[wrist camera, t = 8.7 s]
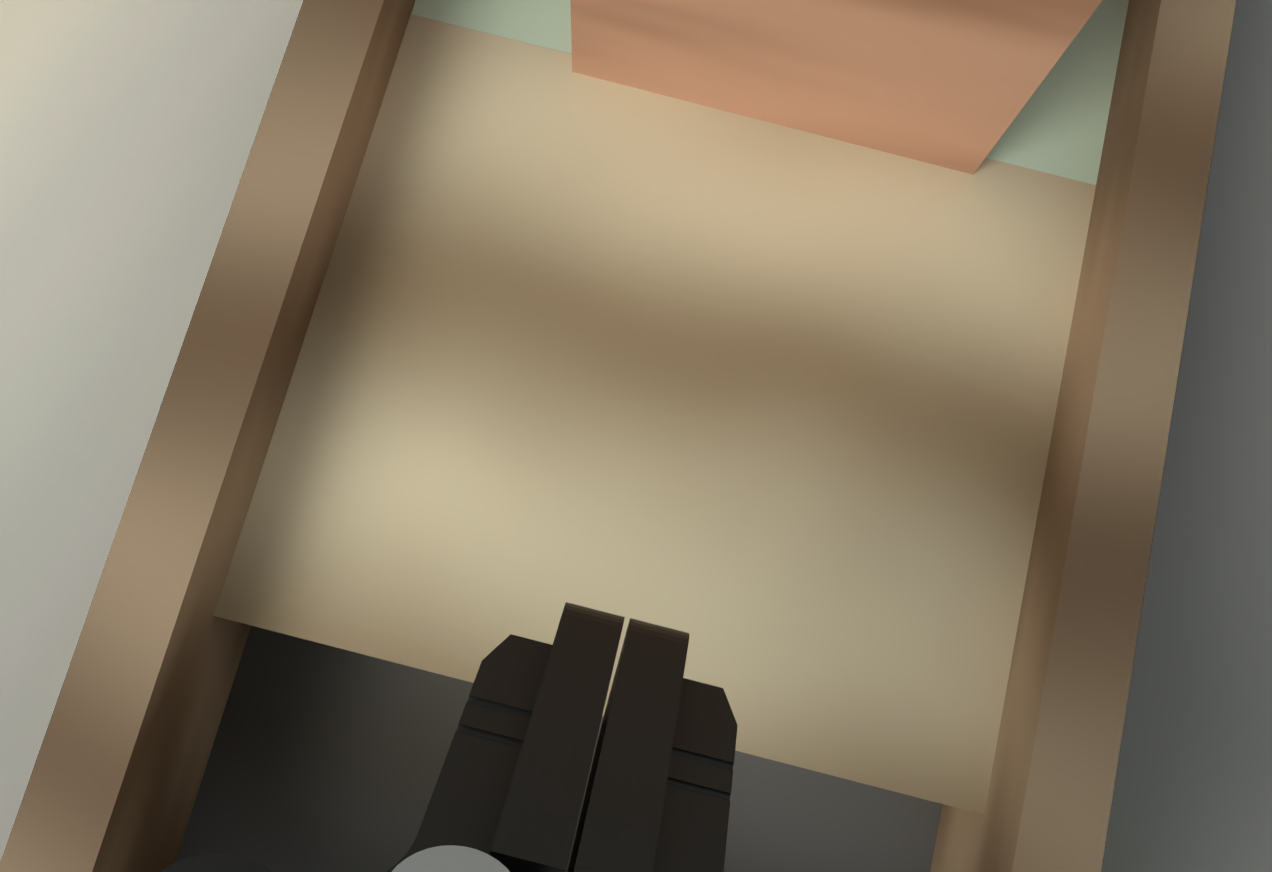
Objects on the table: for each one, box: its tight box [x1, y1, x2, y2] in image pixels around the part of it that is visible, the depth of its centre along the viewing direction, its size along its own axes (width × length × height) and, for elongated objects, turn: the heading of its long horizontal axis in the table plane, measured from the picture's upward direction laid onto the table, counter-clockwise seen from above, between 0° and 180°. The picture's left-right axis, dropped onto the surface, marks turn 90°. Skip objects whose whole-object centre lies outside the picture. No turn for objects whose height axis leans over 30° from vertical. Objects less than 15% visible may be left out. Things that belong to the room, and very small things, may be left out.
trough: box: [0, 0, 1236, 872], centre depth 21 cm, size 33×14×4 cm, turn 166°
